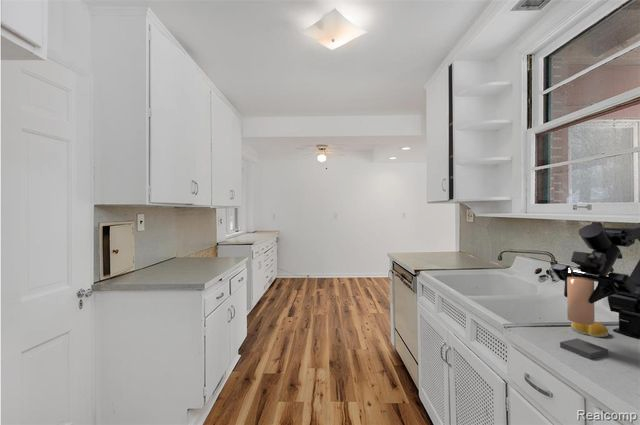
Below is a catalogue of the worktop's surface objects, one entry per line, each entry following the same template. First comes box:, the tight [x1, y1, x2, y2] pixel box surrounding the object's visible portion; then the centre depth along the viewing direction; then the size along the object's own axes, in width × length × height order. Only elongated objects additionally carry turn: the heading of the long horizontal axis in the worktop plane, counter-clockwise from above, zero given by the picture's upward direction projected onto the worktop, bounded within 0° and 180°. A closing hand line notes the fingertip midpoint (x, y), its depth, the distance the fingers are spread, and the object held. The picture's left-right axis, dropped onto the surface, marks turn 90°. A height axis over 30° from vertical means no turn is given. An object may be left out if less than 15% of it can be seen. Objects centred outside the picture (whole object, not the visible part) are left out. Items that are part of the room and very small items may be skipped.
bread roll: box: [570, 321, 609, 338], centre depth 96 cm, size 8×9×4 cm
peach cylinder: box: [566, 277, 596, 325], centre depth 87 cm, size 6×6×12 cm
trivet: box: [559, 338, 609, 360], centre depth 84 cm, size 8×8×2 cm
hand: (577, 299), depth 86 cm, fingers closed on peach cylinder, 6 cm apart
